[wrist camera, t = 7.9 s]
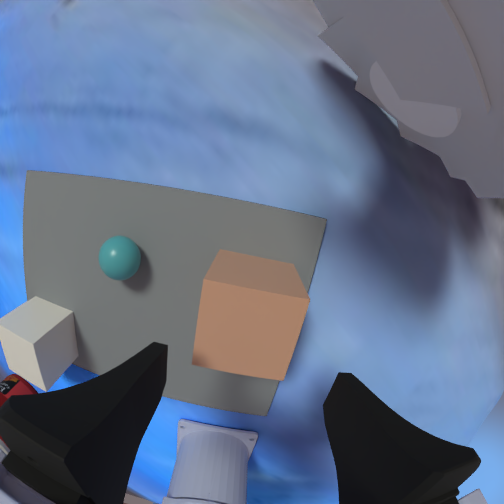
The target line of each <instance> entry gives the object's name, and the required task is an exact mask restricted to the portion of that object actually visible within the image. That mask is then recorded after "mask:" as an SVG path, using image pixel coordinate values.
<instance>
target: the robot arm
mask: <svg viewBox="0 0 504 504" xmlns="http://www.w3.org/2000/svg"><path fill="white" fill-rule="evenodd" d="M167 357H168V345H166V344H162V343H158V342H152V343H151V344H149V345H148V346H147V347H145V348H144V349H142V350H141V351H140V352H138V353H137V354H135V355H134V356H132V357H131V358H129V359H128V360H126V361H125V362H123V363H122V364H120V365H118V366H117V367H115V368H113V369H111V370H109V371H108V372H106V373H104V374H102V375H100V376H98V377H96V378H94V379H91V380H89V381H86V382H84V383H81V384H78V385H75V386H71V387H68V388H65V389H61V390H56V391H52V392H46V393H39V394H28V395H11V396H10V397H9V398H8V399H7V400H6V401H5V403H4V404H3V405H2V406H1V407H0V436H1V437H2V439H3V440H4V442H5V443H6V445H7V446H8V448H9V449H10V452H9V453H8V455H6V454H5V453H4V452H3V451H2V450H1V449H0V504H123V501H124V497H125V493H126V489H127V485H128V481H129V477H130V474H131V470H132V467H133V463H134V460H135V457H136V454H137V451H138V448H139V445H140V442H141V440H142V438H143V436H144V433H145V431H146V429H147V427H148V425H149V423H150V421H151V419H152V417H153V415H154V413H155V411H156V408H157V406H158V404H159V402H160V400H161V397H162V394H163V391H164V388H165V384H166V381H167ZM323 410H324V420H325V426H326V430H327V434H328V438H329V442H330V445H331V449H332V453H333V457H334V461H335V465H336V470H337V479H338V490H339V504H487V502H486V500H485V498H484V496H483V494H482V493H481V491H480V489H476V490H475V491H473V492H471V493H469V494H467V495H466V496H464V497H462V498H461V499H459V500H457V498H456V496H457V495H458V494H459V490H458V487H459V486H460V485H461V484H462V483H463V482H464V481H465V480H466V479H468V478H469V477H470V476H471V475H472V473H474V472H475V471H476V469H477V468H478V467H479V465H480V463H481V459H480V458H479V456H478V455H477V453H476V452H475V450H474V449H473V448H470V447H465V446H461V445H457V444H454V443H451V442H448V441H445V440H443V439H440V438H438V437H435V436H433V435H431V434H429V433H427V432H425V431H423V430H421V429H420V428H418V427H416V426H414V425H413V424H411V423H410V422H408V421H407V420H405V419H404V418H402V417H401V416H400V415H398V414H397V413H396V412H395V411H393V410H392V409H391V408H389V407H388V406H387V405H386V404H385V403H384V402H382V401H381V400H380V399H379V398H378V397H377V396H376V395H375V394H374V393H373V392H372V391H370V390H369V389H368V388H367V387H366V386H365V385H364V384H363V383H362V382H361V381H360V380H359V379H358V378H356V377H355V376H354V375H353V374H352V373H341V372H339V373H338V375H337V377H336V379H335V382H334V384H333V386H332V388H331V390H330V392H329V394H328V396H327V398H326V400H325V402H324V404H323ZM257 439H258V433H256V432H252V431H244V430H237V429H230V428H224V427H219V426H213V425H208V424H203V423H198V422H194V421H189V420H185V419H180V420H179V422H178V435H177V458H176V462H175V466H174V470H173V474H172V478H171V482H170V486H169V489H168V493H167V497H163V501H162V504H246V498H247V466H248V460H249V458H250V455H251V453H252V451H253V448H254V446H255V443H256V441H257ZM153 504H158V503H153Z"/></svg>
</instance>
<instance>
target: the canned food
mask: <svg viewBox="0 0 504 504" xmlns="http://www.w3.org/2000/svg"><path fill="white" fill-rule="evenodd" d="M28 394H38V393H37V392H36V390H35V389H34V388H33V387H32V386H31V385H30V384H29V383H28V382H27V381H26V380H25V379H23V378H22V377H20V376H19V375H16V374H12V375H9V376H7V377H6V378H5V379H4V380H3V381H2V382H1V383H0V407H1V406H2V405H3V404H4V403H5V401H6V400H7V399H8V398H9V397H10V396H11V395H28ZM0 449H1V450H2V451H3V452H4V453H5V454H6V455H8V453H9V452H10V449H9V448H8V446H7V445H6V443H5V442H4V440H3V439H2V437H1V436H0Z"/></svg>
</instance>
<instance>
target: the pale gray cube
mask: <svg viewBox="0 0 504 504" xmlns="http://www.w3.org/2000/svg"><path fill="white" fill-rule="evenodd" d="M0 341H1V344H2V348H3V351H4V354H5V357H6V360H7V363H8V366H9V369H11V370H12V371H13V372H15V373H16V374H18V375H20V376H21V377H23V378H24V379H26V380H27V381H29V382H31V383H32V384H34V385H36V386H37V387H39V388H41V389H42V390H44V391H46V392H47V391H48V390H49V389H50V388H51V386H52V385H53V384H54V383H55V382H56V381H57V380H58V378H59V377H60V376H61V375H62V374H63V373H64V372H65V371H66V369H67V368H68V367H69V366H70V365H71V364H72V363H73V362H74V361H75V359H76V358H77V357H78V356H79V355H78V348H77V341H76V334H75V325H74V315H73V311H71V310H68V309H66V308H63V307H61V306H58V305H56V304H53V303H51V302H49V301H46V300H44V299H41V298H39V297H37V296H35V297H33V298H32V299H30V300H28V301H27V302H25V303H24V304H22V305H20V306H19V307H17V308H16V309H14V310H13V311H11V312H10V313H8V314H6V315H5V316H3V317H2V318H0Z"/></svg>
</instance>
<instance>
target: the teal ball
mask: <svg viewBox="0 0 504 504" xmlns="http://www.w3.org/2000/svg"><path fill="white" fill-rule="evenodd" d="M98 258H99V265H100V267H101V269H102V271H103V272H104V274H105V275H107V276H108V277H109V278H111V279H114V280H126V279H129V278H130V277H132V276H133V275H134V274H135V273H136V272H137V270H138V268H139V266H140V262H141V254H140V250H139V248H138V246H137V245H136V243H135V242H134V241H133V240H132V239H130V238H128V237H126V236H114V237H111V238H109V239H108V240H106V241H105V242H104V243H103V245H102V246H101V248H100V251H99V257H98Z"/></svg>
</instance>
